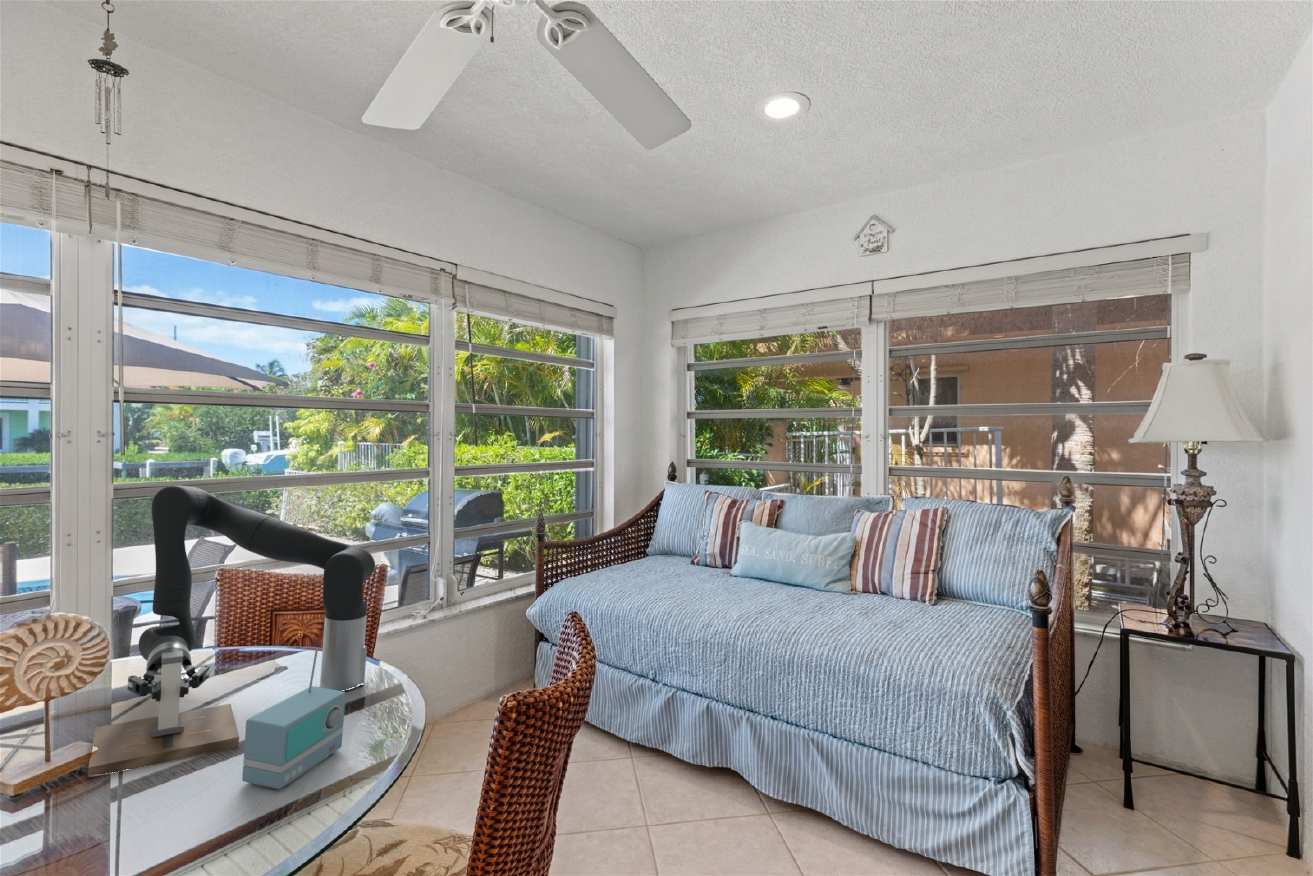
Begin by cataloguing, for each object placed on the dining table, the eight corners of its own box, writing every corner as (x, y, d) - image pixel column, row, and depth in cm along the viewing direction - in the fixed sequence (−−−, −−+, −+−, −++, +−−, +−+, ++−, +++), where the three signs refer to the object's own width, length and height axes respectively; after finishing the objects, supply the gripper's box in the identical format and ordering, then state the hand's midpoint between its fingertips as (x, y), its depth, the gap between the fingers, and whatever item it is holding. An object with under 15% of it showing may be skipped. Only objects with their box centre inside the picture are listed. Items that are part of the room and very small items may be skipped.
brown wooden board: (230, 713, 137) (230, 703, 137) (238, 747, 124) (239, 736, 124) (94, 737, 123) (95, 727, 123) (87, 778, 110) (88, 767, 110)
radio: (284, 796, 110) (292, 681, 109) (240, 786, 111) (248, 673, 111) (346, 752, 125) (354, 651, 125) (307, 744, 127) (314, 645, 127)
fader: (183, 723, 127) (188, 649, 127) (183, 731, 124) (188, 656, 124) (151, 728, 124) (156, 653, 124) (151, 737, 121) (156, 660, 120)
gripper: (127, 652, 130) (124, 681, 117) (210, 642, 139) (216, 668, 126) (124, 688, 130) (121, 722, 117) (208, 675, 139) (213, 706, 126)
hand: (170, 694), depth 121 cm, fingers closed on fader, 3 cm apart
